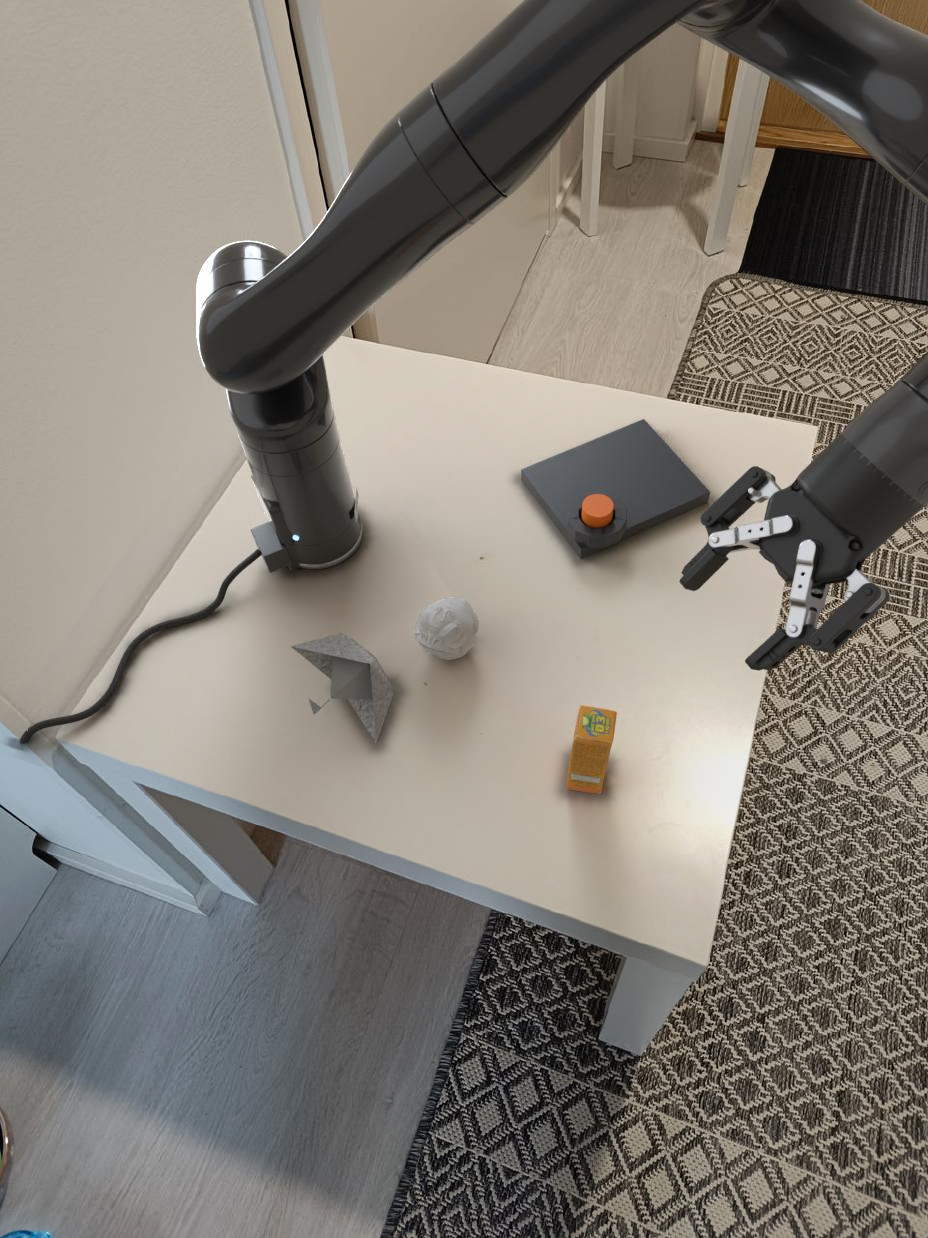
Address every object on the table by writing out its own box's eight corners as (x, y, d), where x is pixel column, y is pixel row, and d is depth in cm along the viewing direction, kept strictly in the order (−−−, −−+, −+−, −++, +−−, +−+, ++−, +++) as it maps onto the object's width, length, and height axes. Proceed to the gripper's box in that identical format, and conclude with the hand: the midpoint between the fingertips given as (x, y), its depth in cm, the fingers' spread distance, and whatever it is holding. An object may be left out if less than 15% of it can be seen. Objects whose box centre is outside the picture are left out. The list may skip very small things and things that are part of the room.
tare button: (591, 532, 92) (592, 521, 91) (575, 512, 94) (576, 500, 93) (618, 521, 93) (619, 509, 92) (602, 500, 95) (603, 489, 93)
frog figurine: (405, 665, 88) (396, 626, 83) (439, 612, 92) (433, 571, 86) (460, 689, 87) (455, 650, 81) (492, 634, 90) (490, 593, 84)
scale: (585, 566, 94) (586, 545, 91) (520, 480, 101) (520, 457, 98) (713, 509, 97) (719, 486, 94) (642, 429, 105) (645, 406, 102)
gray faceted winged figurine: (432, 691, 85) (374, 753, 79) (400, 712, 90) (343, 772, 84) (347, 596, 84) (282, 651, 78) (319, 622, 89) (255, 677, 83)
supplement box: (604, 796, 79) (613, 745, 71) (565, 790, 80) (569, 739, 72) (608, 762, 81) (617, 709, 73) (570, 756, 82) (575, 702, 74)
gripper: (977, 545, 61) (797, 699, 68) (837, 417, 69) (688, 568, 76) (945, 523, 56) (753, 693, 63) (797, 387, 63) (640, 553, 70)
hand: (718, 625), depth 69 cm, fingers open, 8 cm apart
